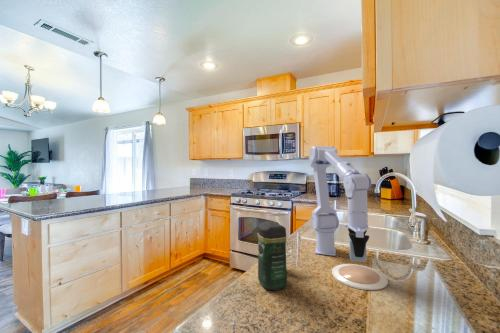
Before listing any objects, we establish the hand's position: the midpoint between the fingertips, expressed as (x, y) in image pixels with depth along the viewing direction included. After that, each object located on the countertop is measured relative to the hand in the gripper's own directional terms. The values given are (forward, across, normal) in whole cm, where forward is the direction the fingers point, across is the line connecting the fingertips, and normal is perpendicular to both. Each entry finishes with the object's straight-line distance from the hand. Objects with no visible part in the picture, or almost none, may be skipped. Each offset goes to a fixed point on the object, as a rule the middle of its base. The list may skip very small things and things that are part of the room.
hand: (358, 253), depth 72 cm
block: (+2, 0, 0) cm, 2 cm away
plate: (+7, 0, 0) cm, 7 cm away
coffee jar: (+8, +13, -25) cm, 29 cm away
